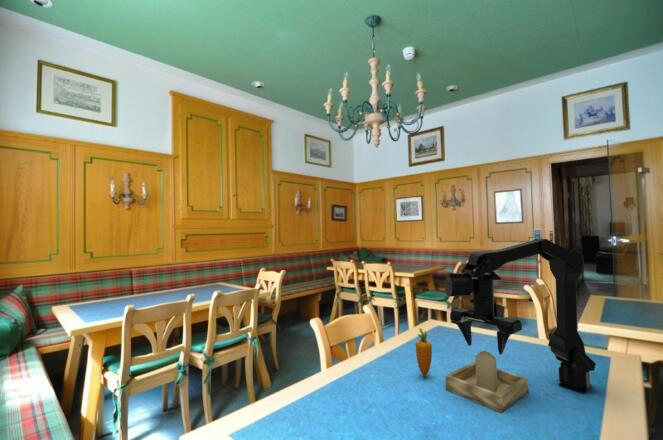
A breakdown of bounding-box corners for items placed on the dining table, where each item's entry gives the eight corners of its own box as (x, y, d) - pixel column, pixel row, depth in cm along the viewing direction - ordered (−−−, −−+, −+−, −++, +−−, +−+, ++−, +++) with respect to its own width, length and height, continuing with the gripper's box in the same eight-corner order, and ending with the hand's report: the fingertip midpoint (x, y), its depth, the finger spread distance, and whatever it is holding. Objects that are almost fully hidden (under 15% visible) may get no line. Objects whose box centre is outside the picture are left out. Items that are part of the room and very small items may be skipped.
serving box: (528, 392, 94) (528, 378, 94) (501, 413, 84) (500, 397, 84) (475, 373, 106) (474, 361, 106) (445, 389, 97) (445, 375, 97)
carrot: (433, 381, 102) (431, 332, 103) (417, 379, 103) (415, 331, 104) (432, 374, 107) (430, 327, 107) (416, 373, 108) (414, 326, 108)
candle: (501, 392, 92) (499, 355, 93) (481, 392, 92) (480, 356, 93) (491, 382, 98) (490, 348, 98) (473, 383, 98) (471, 349, 98)
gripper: (529, 296, 93) (531, 352, 93) (468, 287, 108) (469, 335, 108) (511, 302, 87) (513, 362, 86) (448, 292, 101) (449, 343, 101)
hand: (484, 349), depth 95 cm, fingers open, 9 cm apart
